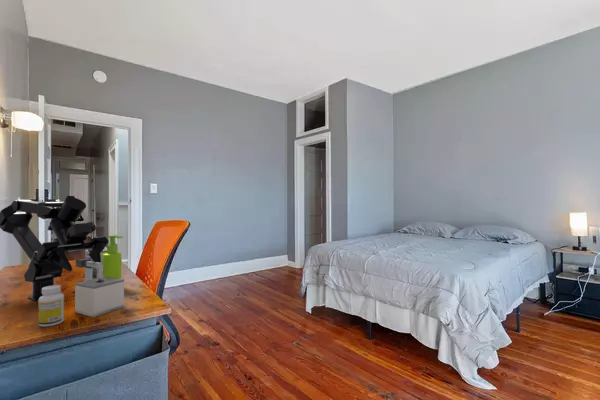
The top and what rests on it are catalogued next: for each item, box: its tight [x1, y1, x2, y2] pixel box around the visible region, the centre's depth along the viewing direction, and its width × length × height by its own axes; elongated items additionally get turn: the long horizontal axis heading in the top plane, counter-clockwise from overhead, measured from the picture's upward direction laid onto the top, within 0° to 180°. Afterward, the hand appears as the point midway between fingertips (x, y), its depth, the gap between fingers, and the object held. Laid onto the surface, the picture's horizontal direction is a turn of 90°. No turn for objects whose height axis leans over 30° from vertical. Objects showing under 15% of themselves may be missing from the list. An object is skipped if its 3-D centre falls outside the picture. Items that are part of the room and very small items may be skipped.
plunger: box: [75, 257, 103, 283], centre depth 94 cm, size 11×3×8 cm, turn 65°
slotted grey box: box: [74, 277, 125, 318], centre depth 92 cm, size 9×9×9 cm
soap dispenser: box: [103, 234, 124, 279], centre depth 115 cm, size 6×7×20 cm
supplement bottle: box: [37, 284, 65, 328], centre depth 82 cm, size 5×5×10 cm
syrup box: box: [84, 248, 107, 281], centre depth 117 cm, size 6×6×14 cm
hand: (86, 267), depth 95 cm, fingers open, 8 cm apart
